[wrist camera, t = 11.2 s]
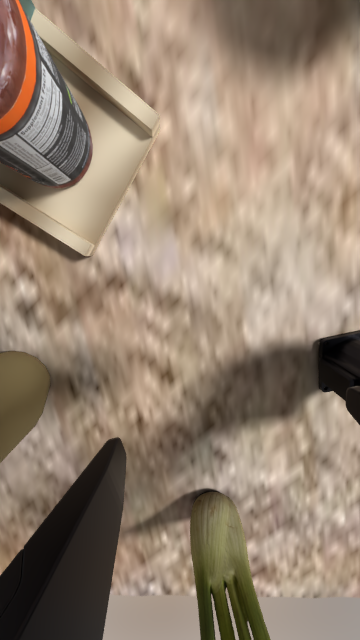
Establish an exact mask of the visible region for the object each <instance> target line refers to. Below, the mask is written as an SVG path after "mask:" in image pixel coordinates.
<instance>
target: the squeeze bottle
mask: <svg viewBox="0 0 360 640" xmlns="http://www.w3.org/2000/svg"><path fill="white" fill-rule="evenodd" d="M49 388H50V375H49V373H48V371H47V369H46V367H45V365H43V364H42V363H41V362H40V361H39V360H38V359H37V358H36V357H33V356H31V355H29V354H27V353H25V352H17V351H8V352H3V353H0V463H1V462H2V461H3V459H4V458H5V457H6V456H7V455H8V454H9V453H10V452H11V451H12V450H13V449H14V448H15V447H16V446H17V445H18V444H19V442H20V441H21V440H22V439H23V438H24V437H25V436H26V435H27V434H28V433H29V432H30V431H31V430H32V429H33V428H34V427H35V425H36V423H37V422H38V420H39V418H40V416H41V414H42V412H43V409H44V405H45V402H46V398H47V395H48V391H49Z"/></svg>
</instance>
